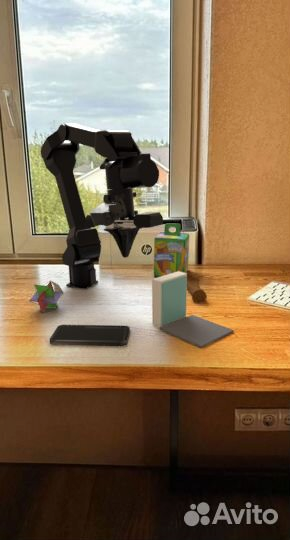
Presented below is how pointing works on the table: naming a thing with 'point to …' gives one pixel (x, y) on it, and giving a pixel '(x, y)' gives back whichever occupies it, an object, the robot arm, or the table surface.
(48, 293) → the geometric puzzle
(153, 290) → the cream flat block
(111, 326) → the phone
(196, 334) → the mat
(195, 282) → the primitive tool
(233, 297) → the table surface
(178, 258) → the chalk box
